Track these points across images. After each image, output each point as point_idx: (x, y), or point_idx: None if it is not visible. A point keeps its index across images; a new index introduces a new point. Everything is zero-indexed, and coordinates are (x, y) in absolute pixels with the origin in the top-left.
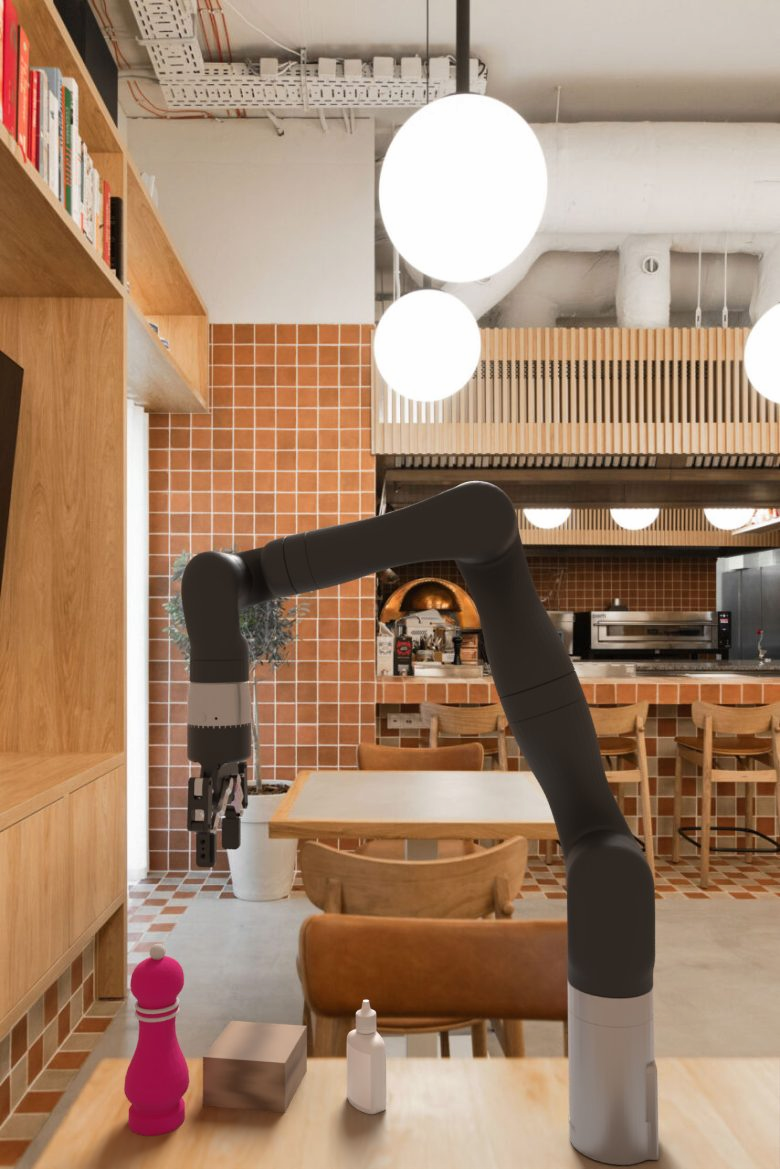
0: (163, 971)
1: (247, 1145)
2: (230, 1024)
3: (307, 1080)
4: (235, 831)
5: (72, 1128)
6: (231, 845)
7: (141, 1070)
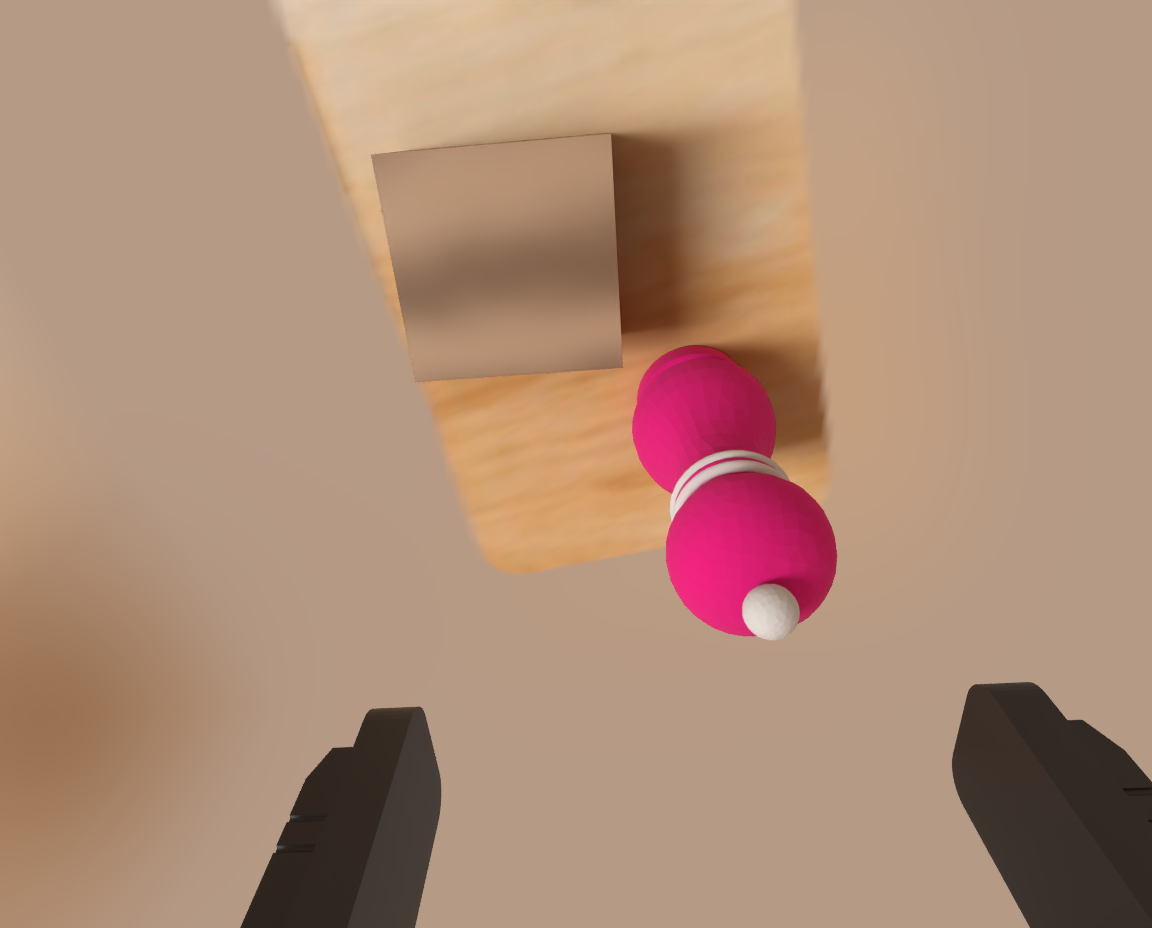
0: (816, 544)
1: (751, 171)
2: (437, 374)
3: (443, 133)
4: (380, 855)
5: None
6: (421, 763)
7: (769, 457)
